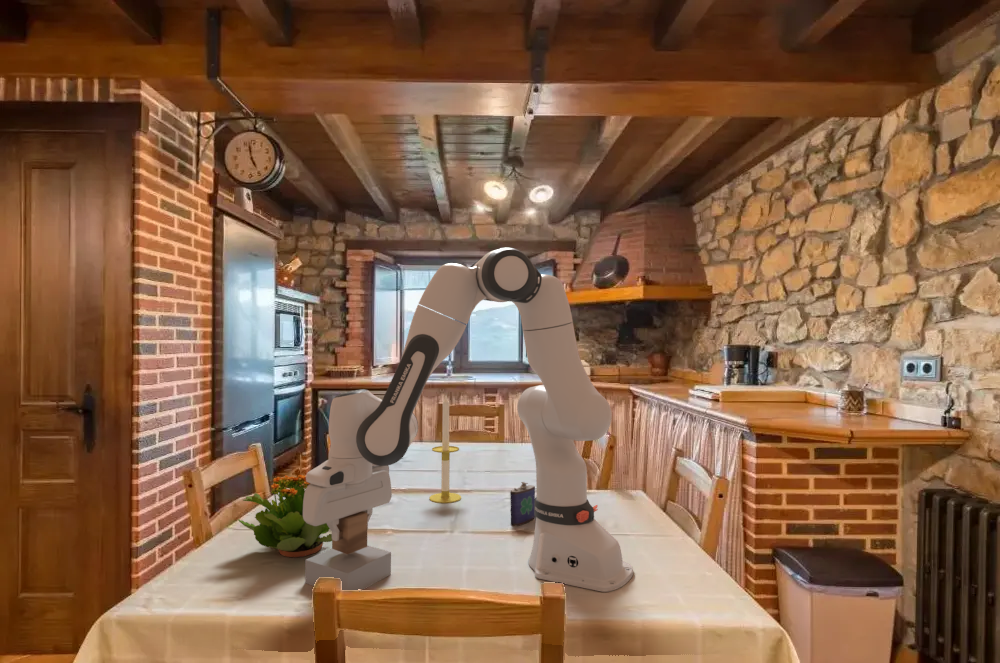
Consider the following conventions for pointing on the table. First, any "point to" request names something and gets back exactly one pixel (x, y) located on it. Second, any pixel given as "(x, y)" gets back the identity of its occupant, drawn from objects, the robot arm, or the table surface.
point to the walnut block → (352, 533)
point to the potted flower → (287, 520)
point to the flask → (522, 504)
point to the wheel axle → (445, 460)
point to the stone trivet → (350, 567)
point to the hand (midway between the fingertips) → (350, 535)
